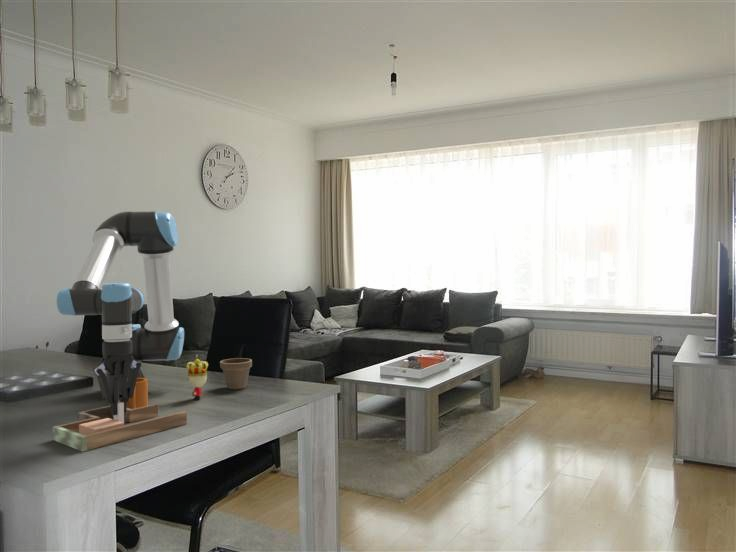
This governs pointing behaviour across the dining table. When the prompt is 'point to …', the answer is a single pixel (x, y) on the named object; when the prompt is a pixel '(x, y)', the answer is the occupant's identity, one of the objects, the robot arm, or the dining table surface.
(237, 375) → the flower pot
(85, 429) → the block
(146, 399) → the mug
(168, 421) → the wooden tray frame
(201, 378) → the toy
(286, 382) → the dining table surface
